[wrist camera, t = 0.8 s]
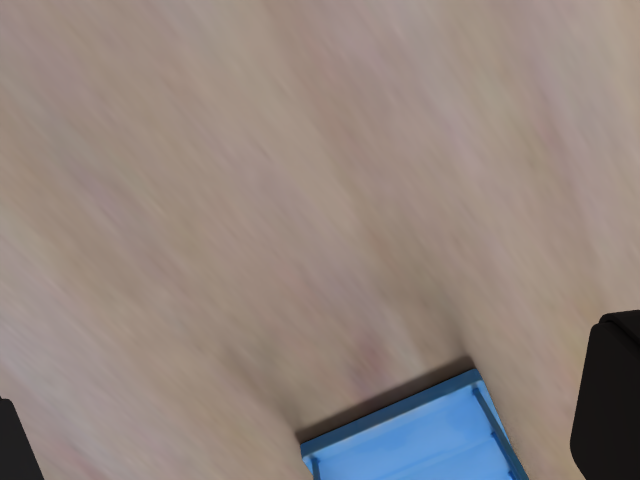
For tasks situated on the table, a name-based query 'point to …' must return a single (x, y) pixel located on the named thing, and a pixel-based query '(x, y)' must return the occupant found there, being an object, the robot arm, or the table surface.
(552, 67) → the table surface
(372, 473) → the file sorter
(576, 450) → the robot arm
